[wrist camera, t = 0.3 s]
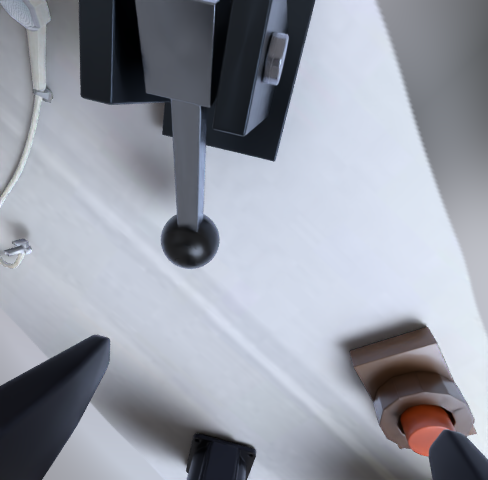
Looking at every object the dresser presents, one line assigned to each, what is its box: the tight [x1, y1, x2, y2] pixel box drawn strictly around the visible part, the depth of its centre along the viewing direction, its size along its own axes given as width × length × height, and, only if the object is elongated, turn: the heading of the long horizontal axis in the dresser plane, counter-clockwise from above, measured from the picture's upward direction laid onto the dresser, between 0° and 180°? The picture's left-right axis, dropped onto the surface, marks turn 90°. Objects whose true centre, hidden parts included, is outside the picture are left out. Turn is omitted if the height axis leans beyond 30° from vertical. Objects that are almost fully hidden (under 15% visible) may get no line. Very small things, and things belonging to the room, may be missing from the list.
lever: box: [135, 0, 232, 269], centre depth 14 cm, size 13×3×3 cm, turn 167°
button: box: [400, 404, 455, 456], centre depth 22 cm, size 3×3×2 cm
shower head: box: [0, 0, 53, 268], centre depth 20 cm, size 5×3×20 cm
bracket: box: [79, 0, 315, 161], centre depth 13 cm, size 9×7×11 cm
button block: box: [350, 327, 477, 449], centre depth 24 cm, size 10×6×4 cm, turn 30°
